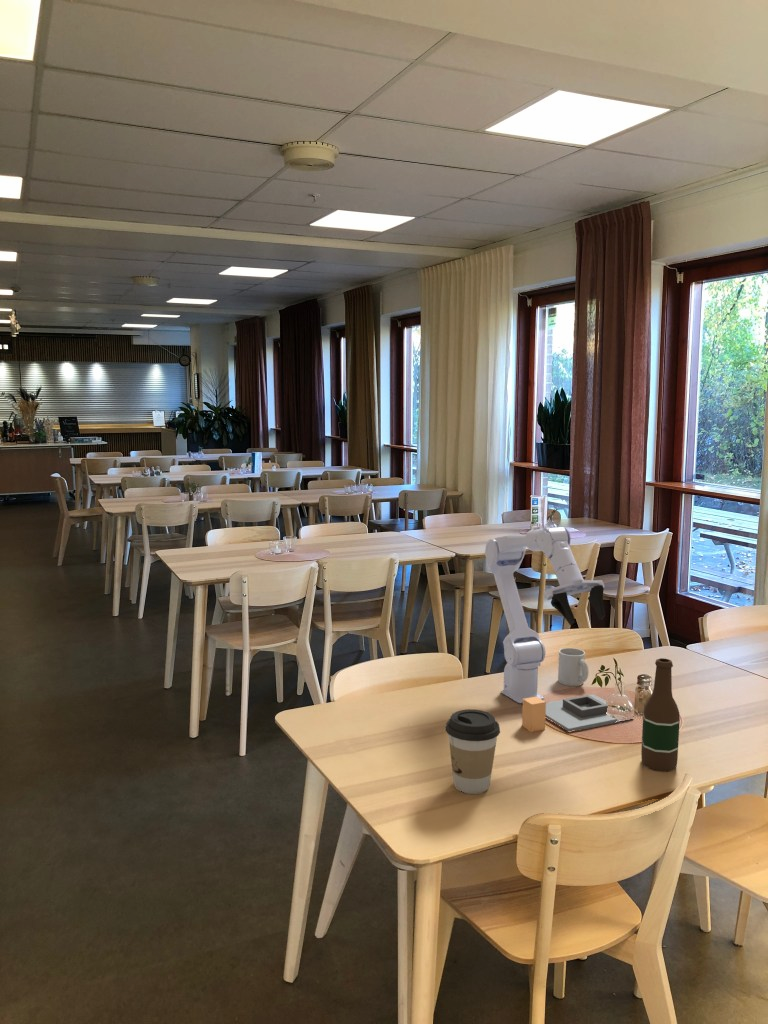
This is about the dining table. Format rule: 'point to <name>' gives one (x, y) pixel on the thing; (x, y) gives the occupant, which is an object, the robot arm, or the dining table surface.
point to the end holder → (579, 712)
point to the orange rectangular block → (534, 714)
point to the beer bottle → (661, 722)
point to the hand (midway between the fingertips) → (587, 620)
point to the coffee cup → (472, 748)
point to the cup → (572, 667)
